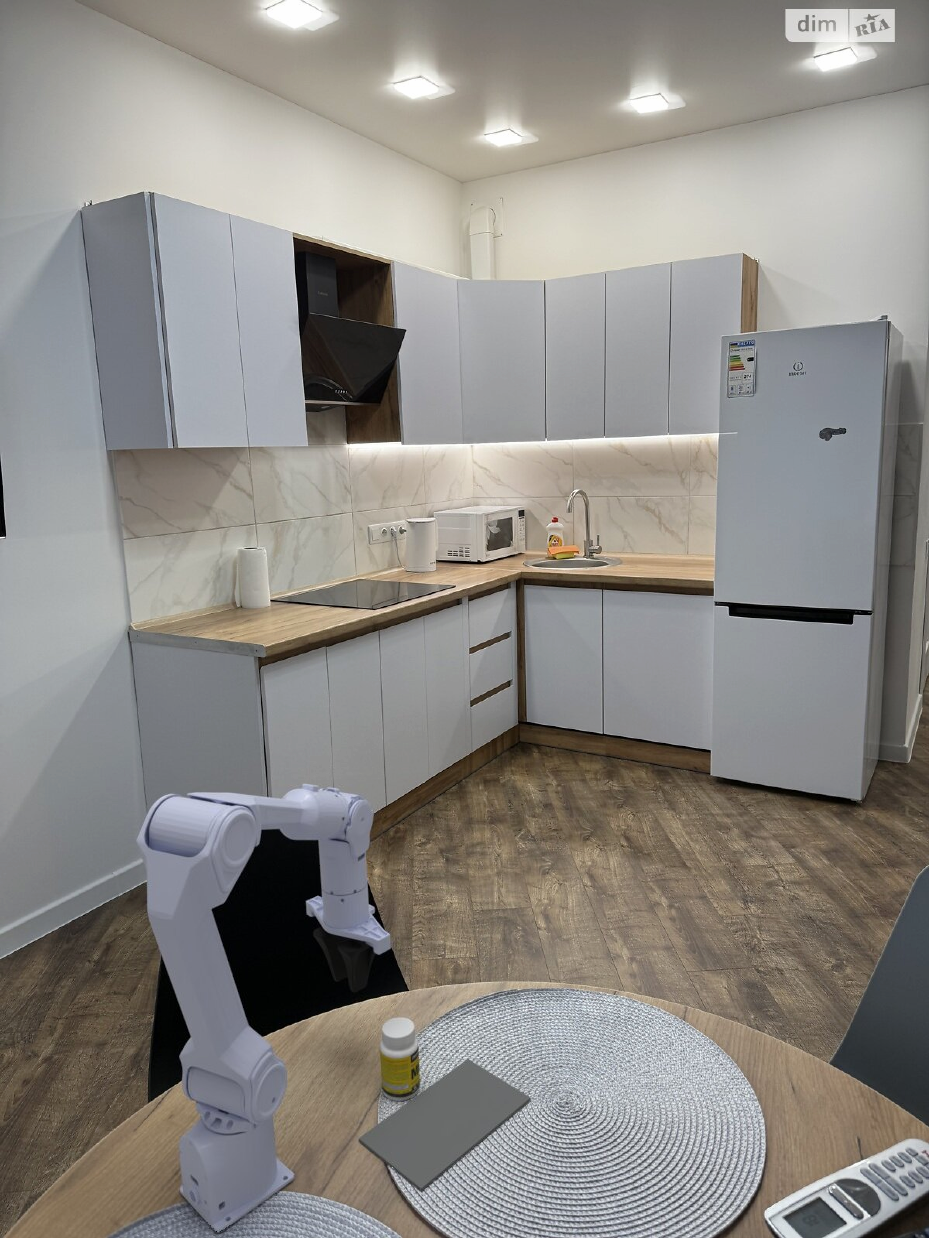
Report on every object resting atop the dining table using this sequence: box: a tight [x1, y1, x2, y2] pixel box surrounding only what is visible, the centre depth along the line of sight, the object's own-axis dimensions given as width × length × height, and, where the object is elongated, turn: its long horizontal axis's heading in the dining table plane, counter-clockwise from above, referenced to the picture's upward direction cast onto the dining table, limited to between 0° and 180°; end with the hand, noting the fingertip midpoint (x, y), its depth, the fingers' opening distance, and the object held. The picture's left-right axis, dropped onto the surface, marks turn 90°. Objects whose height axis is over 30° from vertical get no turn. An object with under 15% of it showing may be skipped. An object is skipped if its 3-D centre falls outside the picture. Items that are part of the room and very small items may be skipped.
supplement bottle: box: [379, 1016, 421, 1102], centre depth 108 cm, size 5×5×8 cm
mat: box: [358, 1058, 532, 1193], centre depth 104 cm, size 18×10×1 cm, turn 136°
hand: (350, 983), depth 113 cm, fingers open, 3 cm apart
